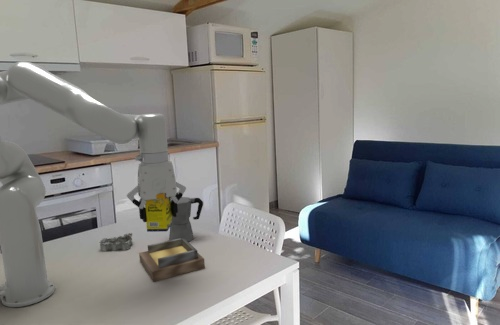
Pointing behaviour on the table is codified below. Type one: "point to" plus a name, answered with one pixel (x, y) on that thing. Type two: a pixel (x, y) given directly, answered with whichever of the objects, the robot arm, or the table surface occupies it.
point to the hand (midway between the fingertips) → (159, 218)
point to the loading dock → (171, 259)
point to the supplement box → (158, 213)
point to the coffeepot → (184, 219)
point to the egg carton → (116, 243)
